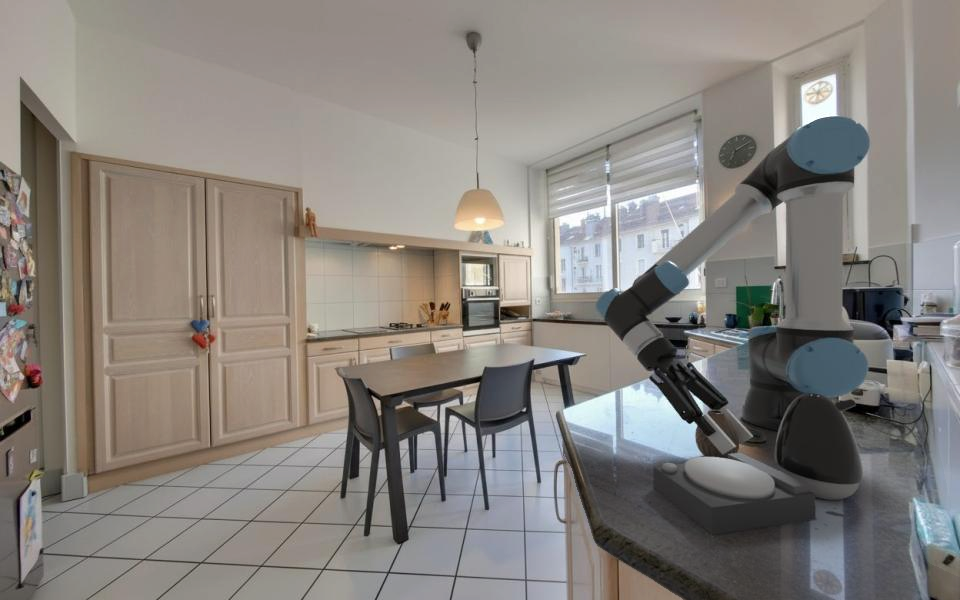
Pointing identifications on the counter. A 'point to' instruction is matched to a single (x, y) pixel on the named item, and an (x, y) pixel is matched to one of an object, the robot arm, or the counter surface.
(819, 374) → the robot arm
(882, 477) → the counter surface
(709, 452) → the vase
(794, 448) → the pump dispenser
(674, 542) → the counter surface
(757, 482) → the turntable with oval dome
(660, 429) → the counter surface
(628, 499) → the counter surface
